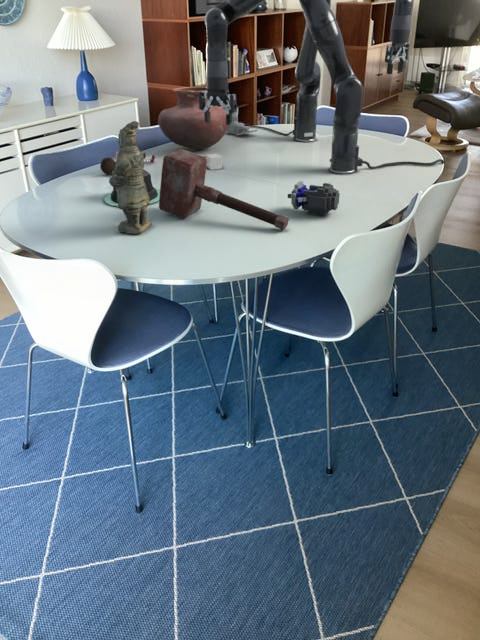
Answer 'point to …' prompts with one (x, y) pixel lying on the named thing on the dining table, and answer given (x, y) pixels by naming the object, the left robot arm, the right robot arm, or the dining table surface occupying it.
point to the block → (214, 161)
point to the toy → (315, 198)
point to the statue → (131, 182)
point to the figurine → (109, 163)
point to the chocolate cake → (152, 192)
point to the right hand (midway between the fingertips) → (218, 123)
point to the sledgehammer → (200, 190)
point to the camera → (238, 126)
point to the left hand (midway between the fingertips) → (394, 73)
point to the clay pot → (192, 121)
